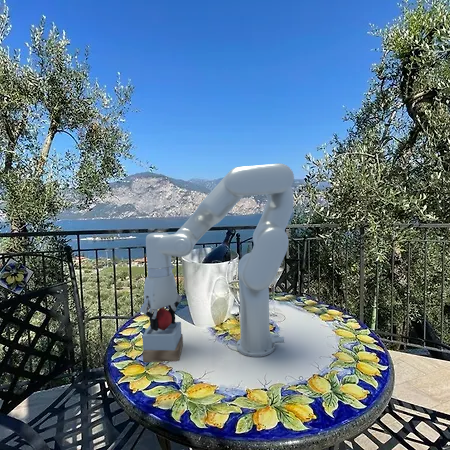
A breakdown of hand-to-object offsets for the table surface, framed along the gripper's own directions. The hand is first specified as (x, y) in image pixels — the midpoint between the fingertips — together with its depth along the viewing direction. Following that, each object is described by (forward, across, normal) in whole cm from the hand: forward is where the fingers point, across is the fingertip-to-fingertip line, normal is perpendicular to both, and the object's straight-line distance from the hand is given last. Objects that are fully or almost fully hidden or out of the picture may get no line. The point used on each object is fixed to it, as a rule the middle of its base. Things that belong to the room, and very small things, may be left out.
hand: (163, 325), depth 100 cm
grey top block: (+6, 0, 0) cm, 6 cm away
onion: (+2, 0, 0) cm, 2 cm away
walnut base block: (+10, 0, 0) cm, 10 cm away
